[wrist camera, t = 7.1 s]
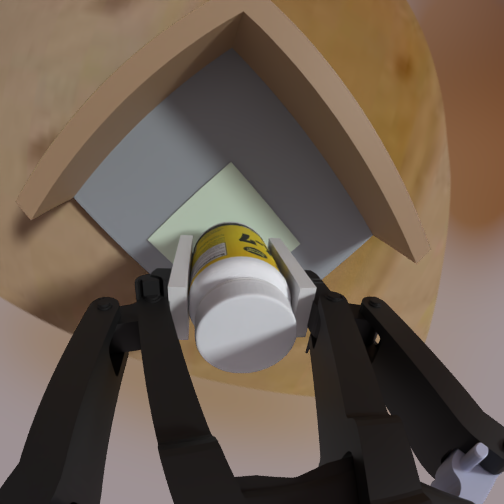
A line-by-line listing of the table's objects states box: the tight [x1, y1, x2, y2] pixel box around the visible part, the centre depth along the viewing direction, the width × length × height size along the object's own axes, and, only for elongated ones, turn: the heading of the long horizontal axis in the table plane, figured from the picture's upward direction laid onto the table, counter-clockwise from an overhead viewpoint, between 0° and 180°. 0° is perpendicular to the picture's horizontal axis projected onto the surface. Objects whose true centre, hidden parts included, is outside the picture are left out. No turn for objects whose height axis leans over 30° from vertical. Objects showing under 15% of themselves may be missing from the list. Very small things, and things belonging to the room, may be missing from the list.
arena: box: [16, 0, 431, 280], centre depth 17 cm, size 20×17×7 cm
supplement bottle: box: [188, 222, 297, 373], centre depth 14 cm, size 5×5×8 cm
